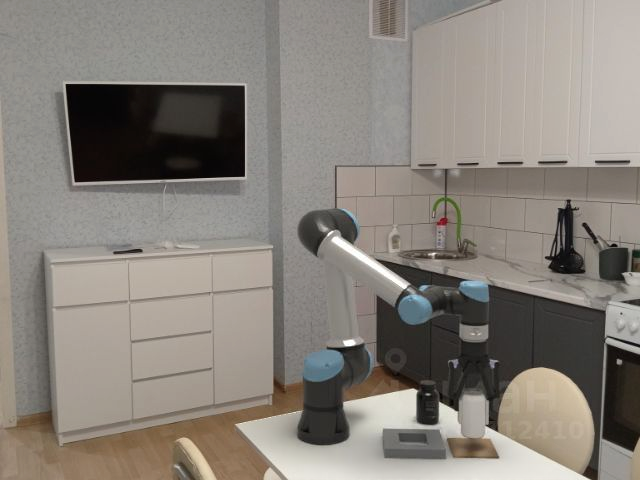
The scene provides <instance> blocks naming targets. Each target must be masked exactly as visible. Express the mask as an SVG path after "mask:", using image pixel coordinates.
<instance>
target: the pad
mask: <svg viewBox="0 0 640 480" xmlns="http://www.w3.org/2000/svg"><path fill="white" fill-rule="evenodd" d="M446 442H447V444H448V446H449V450H450V453H451V456H452V458H455V459H457V458H458V459H459V458H460V459H461V458H462V459H465V458H466V459H467V458H468V459H500V456H499V454H498V451H497V450H496V447H495V445H494V444H493V441H492V440H491V438H487V437H486V438H484V437H482V438H479V439H470V438H466V437H447V438H446Z"/></svg>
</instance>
